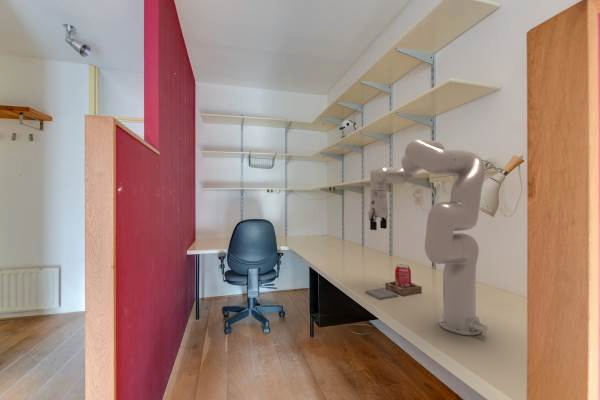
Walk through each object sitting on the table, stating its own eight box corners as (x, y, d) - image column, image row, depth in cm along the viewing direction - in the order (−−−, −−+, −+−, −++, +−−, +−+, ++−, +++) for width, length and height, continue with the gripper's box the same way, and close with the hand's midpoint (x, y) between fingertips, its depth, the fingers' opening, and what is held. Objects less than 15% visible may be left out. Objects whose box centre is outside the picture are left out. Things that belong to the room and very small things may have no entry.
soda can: (401, 287, 133) (400, 263, 133) (414, 291, 127) (413, 266, 127) (392, 290, 128) (391, 265, 129) (405, 294, 123) (405, 268, 123)
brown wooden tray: (421, 292, 125) (421, 286, 125) (402, 296, 120) (402, 289, 120) (403, 285, 135) (403, 280, 135) (385, 288, 131) (385, 282, 131)
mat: (397, 296, 120) (397, 294, 120) (379, 299, 116) (379, 297, 116) (382, 290, 129) (382, 287, 129) (365, 292, 125) (365, 290, 125)
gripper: (376, 194, 123) (376, 231, 123) (393, 194, 135) (394, 228, 135) (362, 194, 128) (362, 230, 128) (380, 194, 141) (380, 227, 140)
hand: (378, 229), depth 132 cm, fingers open, 9 cm apart
